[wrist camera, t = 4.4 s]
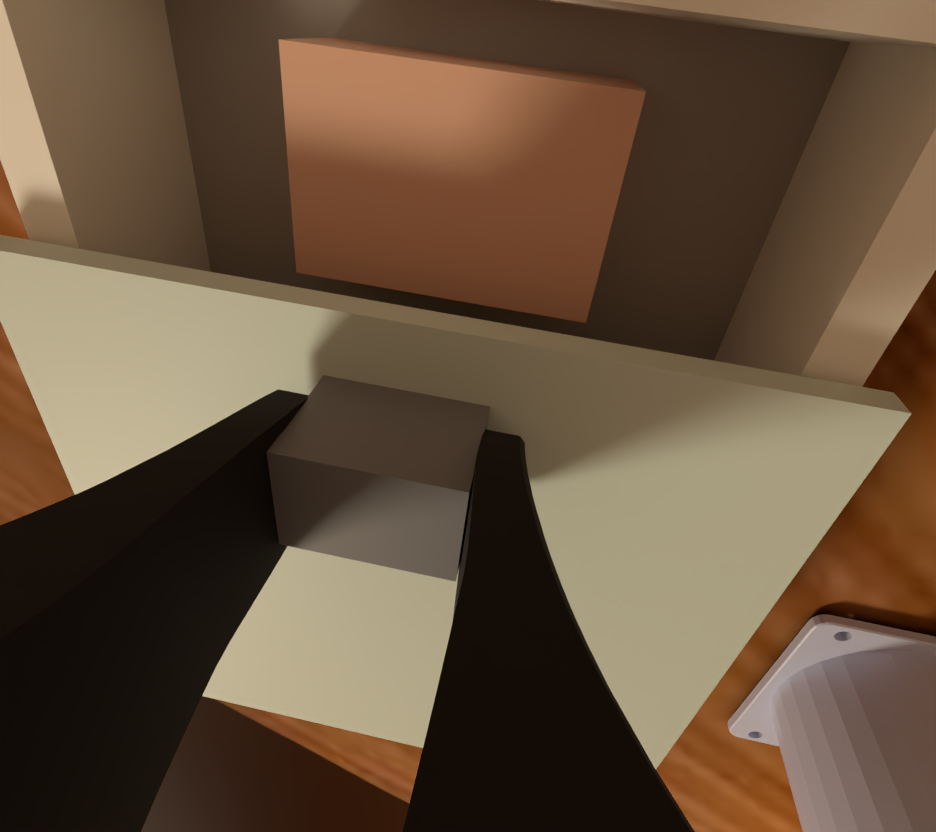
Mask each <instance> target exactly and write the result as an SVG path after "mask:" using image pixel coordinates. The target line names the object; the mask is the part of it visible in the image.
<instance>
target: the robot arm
mask: <svg viewBox="0 0 936 832" xmlns="http://www.w3.org/2000/svg"><path fill="white" fill-rule="evenodd" d="M308 396H309V395H305V394H300V393H295V392H290V391H284V390H279V389H278V390H276V391H274V392H272V393H270V394H268V395H266V396H264V397H262V398H260V399H258V400H257V401H255V402H253V403H251V404H249V405H248V406H246V407H244V408H242V409H240V410H239V411H237V412H235V413H233V414H232V415H230V416H228V417H226V418H225V419H223V420H221V421H219V422H217V423H216V424H214V425H212V426H210V427H208V428H207V429H205V430H203V431H201V432H199V433H198V434H196V435H194V436H192V437H190V438H188V439H187V440H185V441H183V442H181V443H179V444H178V445H176V446H174V447H172V448H170V449H168V450H166V451H164V452H162V453H160V454H158V455H156V456H154V457H152V458H150V459H148V460H146V461H144V462H142V463H140V464H138V465H136V466H134V467H132V468H130V469H128V470H126V471H124V472H122V473H120V474H118V475H116V476H114V477H112V478H110V479H108V480H106V481H104V482H102V483H100V484H98V485H96V486H94V487H91V488H89V489H87V490H85V491H82V492H80V493H78V494H76V495H73V496H71V497H69V498H67V499H64V500H62V501H60V502H57V503H55V504H52V505H50V506H47V507H45V508H43V509H40V510H38V511H35V512H33V513H31V514H28V515H26V516H23V517H21V518H18V519H16V520H13V521H11V522H8V523H5V524H3V525H0V832H141V830H142V828H143V825H144V823H145V820H146V818H147V816H148V813H149V811H150V809H151V806H152V804H153V802H154V799H155V797H156V795H157V792H158V790H159V788H160V786H161V783H162V781H163V779H164V777H165V774H166V772H167V770H168V768H169V766H170V763H171V762H172V759H173V757H174V755H175V753H176V751H177V748H178V746H179V744H180V742H181V740H182V737H183V735H184V733H185V731H186V729H187V726H188V724H189V722H190V720H191V718H192V716H193V714H194V712H195V710H196V708H197V705H198V703H199V701H200V699H201V697H202V695H203V693H204V691H205V689H206V687H207V685H208V683H209V681H210V678H211V676H212V674H213V672H214V670H215V668H216V666H217V664H218V662H219V661H220V659H221V657H222V655H223V653H224V652H225V650H226V648H227V646H228V644H229V643H230V641H231V639H232V637H233V636H234V634H235V632H236V631H237V629H238V628H239V626H240V624H241V623H242V621H243V619H244V618H245V616H246V614H247V613H248V611H249V609H250V608H251V606H252V604H253V603H254V601H255V599H256V598H257V596H258V595H259V593H260V591H261V590H262V588H263V586H264V585H265V583H266V581H267V580H268V578H269V576H270V575H271V573H272V571H273V570H274V568H275V566H276V565H277V563H278V561H279V560H280V558H281V556H282V555H283V553H284V551H285V550H286V548H287V546H286V545H281V544H279V540H278V532H277V525H276V518H275V511H274V503H273V496H272V489H271V482H270V474H269V467H268V460H267V451H268V449H269V448H270V447H271V445H272V444H273V443H274V441H275V440H276V439H277V437H278V436H279V435H280V434H281V433H282V432H283V431H284V430H285V429H286V427H287V426H288V425H289V423H290V422H291V421H292V419H293V418H294V417H295V415H296V414H297V413H298V411H299V410H300V409H301V407H302V406H303V404H304V403H305V402H306V400H307V399H308V398H307V397H308ZM728 727H729V731H730V733H731V734H733V735H734V736H736V737H740V738H744V739H749V740H753V741H757V742H762V743H766V744H771V745H775V746H780V750H781V754H782V757H783V761H784V765H785V768H786V772H787V776H788V779H789V783H790V787H791V790H792V794H793V798H794V801H795V805H796V809H797V812H798V816H799V819H800V823H801V827H802V830H803V832H936V637H935V636H930V635H926V634H921V633H916V632H911V631H906V630H901V629H897V628H892V627H887V626H882V625H877V624H872V623H868V622H863V621H858V620H853V619H848V618H843V617H838V616H834V615H827V614H822V615H817V616H814V617H812V618H811V619H810V620H809V621H808V622H807V623H806V624H805V626H804V627H803V628H802V629H801V631H800V632H799V633H798V634H797V636H796V637H795V638H794V639H793V641H792V642H791V643H790V644H789V646H788V647H787V648H786V649H785V651H784V652H783V653H782V654H781V656H780V657H779V658H778V659H777V661H776V662H775V663H774V664H773V666H772V667H771V668H770V669H769V671H768V672H767V673H766V674H765V676H764V677H763V678H762V679H761V681H760V682H759V683H758V684H757V686H756V687H755V688H754V689H753V691H752V692H751V693H750V694H749V696H748V697H747V698H746V699H745V701H744V702H743V703H742V704H741V706H740V707H739V708H738V709H737V711H736V712H735V713H734V714H733V715H732V717H731V718H730V719H729V720H728ZM403 832H694V830H693V829H692V827H691V825H690V824H689V822H688V821H687V819H686V817H685V816H684V814H683V813H682V811H681V809H680V808H679V806H678V805H677V803H676V801H675V800H674V798H673V797H672V795H671V793H670V792H669V790H668V789H667V787H666V785H665V784H664V782H663V781H662V779H661V777H660V776H659V774H658V772H657V771H656V769H655V768H654V766H653V764H652V762H651V761H650V759H649V757H648V755H647V754H646V752H645V750H644V748H643V747H642V745H641V743H640V741H639V739H638V738H637V736H636V734H635V732H634V731H633V729H632V727H631V725H630V724H629V722H628V720H627V718H626V717H625V715H624V713H623V711H622V709H621V708H620V706H619V704H618V702H617V701H616V699H615V697H614V695H613V694H612V692H611V690H610V688H609V686H608V684H607V682H606V680H605V678H604V676H603V674H602V672H601V670H600V668H599V666H598V664H597V662H596V660H595V658H594V656H593V654H592V652H591V650H590V648H589V646H588V644H587V642H586V640H585V638H584V635H583V633H582V631H581V629H580V627H579V625H578V622H577V620H576V618H575V616H574V614H573V611H572V609H571V607H570V604H569V602H568V599H567V597H566V594H565V592H564V590H563V587H562V585H561V582H560V579H559V577H558V574H557V571H556V569H555V566H554V563H553V560H552V558H551V555H550V552H549V549H548V546H547V543H546V540H545V537H544V533H543V530H542V527H541V523H540V520H539V517H538V513H537V510H536V506H535V502H534V499H533V495H532V490H531V485H530V481H529V476H528V470H527V464H526V456H525V442H524V441H523V439H522V438H521V437H520V436H518V435H513V434H507V433H502V432H497V431H492V430H487V429H485V431H484V432H483V435H482V438H481V441H480V445H479V449H478V452H477V457H476V463H475V471H474V477H473V484H472V490H471V497H470V503H469V509H468V516H467V522H466V528H465V535H464V541H463V548H462V554H461V560H460V565H459V573H458V581H457V589H456V597H455V606H454V614H453V622H452V627H451V632H450V636H449V640H448V644H447V649H446V653H445V657H444V662H443V666H442V670H441V675H440V679H439V683H438V687H437V692H436V696H435V700H434V704H433V708H432V713H431V717H430V721H429V725H428V729H427V734H426V738H425V742H424V746H423V750H422V755H421V759H420V763H419V767H418V771H417V776H416V780H415V784H414V788H413V792H412V796H411V800H410V804H409V809H408V813H407V817H406V821H405V825H404V829H403Z"/></svg>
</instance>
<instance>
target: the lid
mask: <svg viewBox="0 0 936 832" xmlns="http://www.w3.org/2000/svg"><path fill="white" fill-rule="evenodd" d="M0 321H1V323H2V326H3V328H4V330H5V333H6V335H7V337H8V340H9V342H10V344H11V347H12V349H13V351H14V354H15V356H16V358H17V361H18V363H19V365H20V368H21V370H22V372H23V375H24V377H25V379H26V382H27V384H28V386H29V389H30V391H31V393H32V396H33V398H34V400H35V403H36V405H37V407H38V410H39V412H40V414H41V417H42V419H43V421H44V424H45V426H46V428H47V431H48V433H49V435H50V438H51V440H52V442H53V445H54V447H55V449H56V452H57V454H58V456H59V459H60V461H61V463H62V466H63V468H64V470H65V473H66V475H67V477H68V480H69V482H70V484H71V487H72V489H73V491H74V494H75V495H76V494H78V493H80V492H82V491H85V490H87V489H89V488H91V487H94V486H96V485H98V484H100V483H102V482H104V481H106V480H108V479H110V478H112V477H114V476H116V475H118V474H120V473H122V472H124V471H126V470H128V469H130V468H132V467H134V466H136V465H138V464H140V463H142V462H144V461H146V460H148V459H150V458H152V457H154V456H156V455H158V454H160V453H162V452H164V451H166V450H168V449H170V448H172V447H174V446H176V445H178V444H179V443H181V442H183V441H185V440H187V439H188V438H190V437H192V436H194V435H196V434H198V433H199V432H201V431H203V430H205V429H207V428H208V427H210V426H212V425H214V424H216V423H217V422H219V421H221V420H223V419H225V418H226V417H228V416H230V415H232V414H233V413H235V412H237V411H239V410H240V409H242V408H244V407H246V406H248V405H249V404H251V403H253V402H255V401H257V400H258V399H260V398H262V397H264V396H266V395H268V394H270V393H272V392H274V391H276V390H278V389H279V390H284V391H290V392H295V393H300V394H305V395H309V396H308V397H307V398H308V399H307V400H306V402H305V403H304V404H303V406H302V407H301V409H300V410H299V411H298V413H297V414H296V415H295V417H294V418H293V419H292V421H291V422H290V423H289V425H288V426H287V427H286V429H285V430H284V431H283V432H282V433H281V434H280V435H279V436H278V437H277V439H276V440H275V441H274V443H273V444H272V445H271V447H270V448H269V449H268V451H267V460H268V467H269V474H270V482H271V489H272V496H273V503H274V511H275V518H276V525H277V532H278V540H279V544H281V545H286V546H287V548H286V550H285V551H284V553H283V555H282V556H281V558H280V560H279V561H278V563H277V565H276V566H275V568H274V570H273V571H272V573H271V575H270V576H269V578H268V580H267V581H266V583H265V585H264V586H263V588H262V590H261V591H260V593H259V595H258V596H257V598H256V599H255V601H254V603H253V604H252V606H251V608H250V609H249V611H248V613H247V614H246V616H245V618H244V619H243V621H242V623H241V624H240V626H239V628H238V629H237V631H236V632H235V634H234V636H233V637H232V639H231V641H230V643H229V644H228V646H227V648H226V650H225V652H224V653H223V655H222V657H221V659H220V661H219V662H218V664H217V666H216V668H215V670H214V672H213V674H212V676H211V678H210V681H209V683H208V685H207V687H206V689H205V691H204V693H203V695H202V696H206V697H209V698H213V699H218V700H222V701H226V702H230V703H235V704H239V705H243V706H247V707H252V708H256V709H260V710H264V711H269V712H273V713H277V714H281V715H285V716H290V717H294V718H298V719H302V720H307V721H311V722H315V723H319V724H324V725H328V726H332V727H336V728H341V729H345V730H349V731H353V732H357V733H362V734H366V735H370V736H374V737H379V738H383V739H387V740H391V741H396V742H400V743H404V744H408V745H413V746H417V747H421V748H423V746H424V742H425V738H426V734H427V729H428V725H429V721H430V717H431V713H432V708H433V704H434V700H435V696H436V692H437V687H438V683H439V679H440V675H441V670H442V666H443V662H444V657H445V653H446V649H447V644H448V640H449V636H450V632H451V627H452V622H453V614H454V606H455V597H456V589H457V581H458V573H459V565H460V560H461V554H462V548H463V541H464V535H465V528H466V522H467V516H468V509H469V503H470V497H471V490H472V484H473V477H474V471H475V463H476V457H477V452H478V449H479V445H480V441H481V438H482V435H483V432H484V431H485V429H487V430H492V431H497V432H502V433H507V434H513V435H518V436H520V437H521V438H522V439H523V441H524V442H525V456H526V464H527V470H528V476H529V481H530V485H531V490H532V495H533V499H534V502H535V506H536V510H537V513H538V517H539V520H540V523H541V527H542V530H543V533H544V537H545V540H546V543H547V546H548V549H549V552H550V555H551V558H552V560H553V563H554V566H555V569H556V571H557V574H558V577H559V579H560V582H561V585H562V587H563V590H564V592H565V594H566V597H567V599H568V602H569V604H570V607H571V609H572V611H573V614H574V616H575V618H576V620H577V622H578V625H579V627H580V629H581V631H582V633H583V635H584V638H585V640H586V642H587V644H588V646H589V648H590V650H591V652H592V654H593V656H594V658H595V660H596V662H597V664H598V666H599V668H600V670H601V672H602V674H603V676H604V678H605V680H606V682H607V684H608V686H609V688H610V690H611V692H612V694H613V695H614V697H615V699H616V701H617V702H618V704H619V706H620V708H621V709H622V711H623V713H624V715H625V717H626V718H627V720H628V722H629V724H630V725H631V727H632V729H633V731H634V732H635V734H636V736H637V738H638V739H639V741H640V743H641V745H642V747H643V748H644V750H645V752H646V754H647V755H648V757H649V759H650V761H651V762H652V764H653V766H654V768H655V769H657V767H658V766H659V764H660V763H661V762H662V760H663V759H664V757H665V756H666V755H667V753H668V752H669V750H670V749H671V748H672V746H673V745H674V743H675V742H676V741H677V739H678V738H679V737H680V735H681V734H682V732H683V731H684V730H685V728H686V727H687V725H688V724H689V723H690V721H691V720H692V718H693V717H694V716H695V714H696V713H697V712H698V710H699V709H700V707H701V706H702V705H703V703H704V702H705V700H706V699H707V698H708V696H709V695H710V693H711V692H712V691H713V689H714V688H715V686H716V685H717V684H718V682H719V681H720V680H721V678H722V677H723V675H724V674H725V673H726V671H727V670H728V668H729V667H730V666H731V664H732V663H733V661H734V660H735V659H736V657H737V656H738V655H739V653H740V652H741V650H742V649H743V648H744V646H745V645H746V643H747V642H748V641H749V639H750V638H751V636H752V635H753V634H754V632H755V631H756V629H757V628H758V627H759V625H760V624H761V623H762V621H763V620H764V618H765V617H766V616H767V614H768V613H769V611H770V610H771V609H772V607H773V606H774V604H775V603H776V602H777V600H778V599H779V597H780V596H781V595H782V593H783V592H784V591H785V589H786V588H787V586H788V585H789V584H790V582H791V581H792V579H793V578H794V577H795V575H796V574H797V572H798V571H799V570H800V568H801V567H802V566H803V564H804V563H805V561H806V560H807V559H808V557H809V556H810V554H811V553H812V552H813V550H814V549H815V547H816V546H817V545H818V543H819V542H820V540H821V539H822V538H823V536H824V535H825V534H826V532H827V531H828V529H829V528H830V527H831V525H832V524H833V522H834V521H835V520H836V518H837V517H838V515H839V514H840V513H841V511H842V510H843V509H844V507H845V506H846V504H847V503H848V502H849V500H850V499H851V497H852V496H853V495H854V493H855V492H856V490H857V489H858V488H859V486H860V485H861V483H862V482H863V481H864V479H865V478H866V477H867V475H868V474H869V472H870V471H871V470H872V468H873V467H874V465H875V464H876V463H877V461H878V460H879V458H880V457H881V456H882V454H883V453H884V451H885V450H886V449H887V447H888V446H889V445H890V443H891V442H892V440H893V439H894V438H895V436H896V435H897V433H898V432H899V431H900V429H901V428H902V426H903V425H904V424H905V422H906V421H907V420H908V418H909V417H910V415H911V414H912V413H911V412H910V411H909V410H908V409H907V407H906V406H905V405H904V404H903V403H902V402H901V400H900V399H899V398H898V397H897V396H896V394H895V393H894V392H888V391H883V390H877V389H871V388H866V387H860V386H854V385H849V384H843V383H837V382H832V381H826V380H820V379H815V378H809V377H803V376H798V375H792V374H786V373H781V372H775V371H769V370H764V369H758V368H752V367H747V366H741V365H735V364H730V363H724V362H718V361H713V360H707V359H701V358H696V357H690V356H684V355H679V354H673V353H667V352H662V351H656V350H650V349H645V348H639V347H633V346H628V345H622V344H616V343H611V342H605V341H599V340H594V339H588V338H582V337H577V336H571V335H565V334H560V333H554V332H548V331H543V330H537V329H531V328H526V327H520V326H514V325H509V324H503V323H497V322H492V321H486V320H480V319H475V318H469V317H463V316H458V315H452V314H446V313H441V312H435V311H429V310H424V309H418V308H412V307H407V306H401V305H395V304H390V303H384V302H378V301H373V300H367V299H361V298H356V297H350V296H344V295H339V294H333V293H327V292H322V291H316V290H310V289H305V288H299V287H293V286H288V285H282V284H276V283H271V282H265V281H259V280H254V279H248V278H242V277H237V276H231V275H225V274H220V273H214V272H208V271H203V270H197V269H191V268H186V267H180V266H174V265H169V264H163V263H157V262H152V261H146V260H140V259H135V258H129V257H123V256H118V255H112V254H106V253H101V252H95V251H89V250H84V249H78V248H72V247H67V246H61V245H55V244H50V243H44V242H38V241H33V240H27V239H21V238H16V237H10V236H4V235H0Z"/></svg>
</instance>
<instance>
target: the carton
mask: <svg viewBox="0 0 936 832" xmlns="http://www.w3.org/2000/svg"><path fill="white" fill-rule="evenodd" d="M0 160H1V163H2V165H3V168H4V171H5V174H6V176H7V179H8V182H9V185H10V187H11V190H12V193H13V196H14V199H15V201H16V204H17V207H18V210H19V212H20V215H21V218H22V221H23V224H24V226H25V229H26V232H27V235H28V237H29V240H33V241H38V242H44V243H50V244H55V245H61V246H67V247H72V248H78V249H84V250H89V251H95V252H101V253H106V254H112V255H118V256H123V257H129V258H135V259H140V260H146V261H152V262H157V263H163V264H169V265H174V266H180V267H186V268H191V269H197V270H203V271H208V272H214V273H220V274H225V275H231V276H237V277H242V278H248V279H254V280H259V281H265V282H271V283H276V284H282V285H288V286H293V287H299V288H305V289H310V290H316V291H322V292H327V293H333V294H339V295H344V296H350V297H356V298H361V299H367V300H373V301H378V302H384V303H390V304H395V305H401V306H407V307H412V308H418V309H424V310H429V311H435V312H441V313H446V314H452V315H458V316H463V317H469V318H475V319H480V320H486V321H492V322H497V323H503V324H509V325H514V326H520V327H526V328H531V329H537V330H543V331H548V332H554V333H560V334H565V335H571V336H577V337H582V338H588V339H594V340H599V341H605V342H611V343H616V344H622V345H628V346H633V347H639V348H645V349H650V350H656V351H662V352H667V353H673V354H679V355H684V356H690V357H696V358H701V359H707V360H713V361H718V362H724V363H730V364H735V365H741V366H747V367H752V368H758V369H764V370H769V371H775V372H781V373H786V374H792V375H798V376H803V377H809V378H815V379H820V380H826V381H832V382H837V383H843V384H849V385H854V386H860V387H862V386H863V384H864V383H865V381H866V380H867V378H868V376H869V375H870V373H871V372H872V370H873V368H874V367H875V365H876V364H877V362H878V361H879V359H880V357H881V356H882V354H883V353H884V351H885V349H886V348H887V346H888V345H889V343H890V341H891V340H892V338H893V337H894V335H895V334H896V332H897V330H898V329H899V327H900V326H901V324H902V322H903V321H904V319H905V318H906V316H907V315H908V313H909V311H910V310H911V308H912V307H913V305H914V303H915V302H916V300H917V299H918V297H919V296H920V294H921V292H922V291H923V289H924V288H925V286H926V284H927V283H928V281H929V280H930V278H931V277H932V275H933V273H934V272H935V270H936V0H0Z"/></svg>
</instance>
